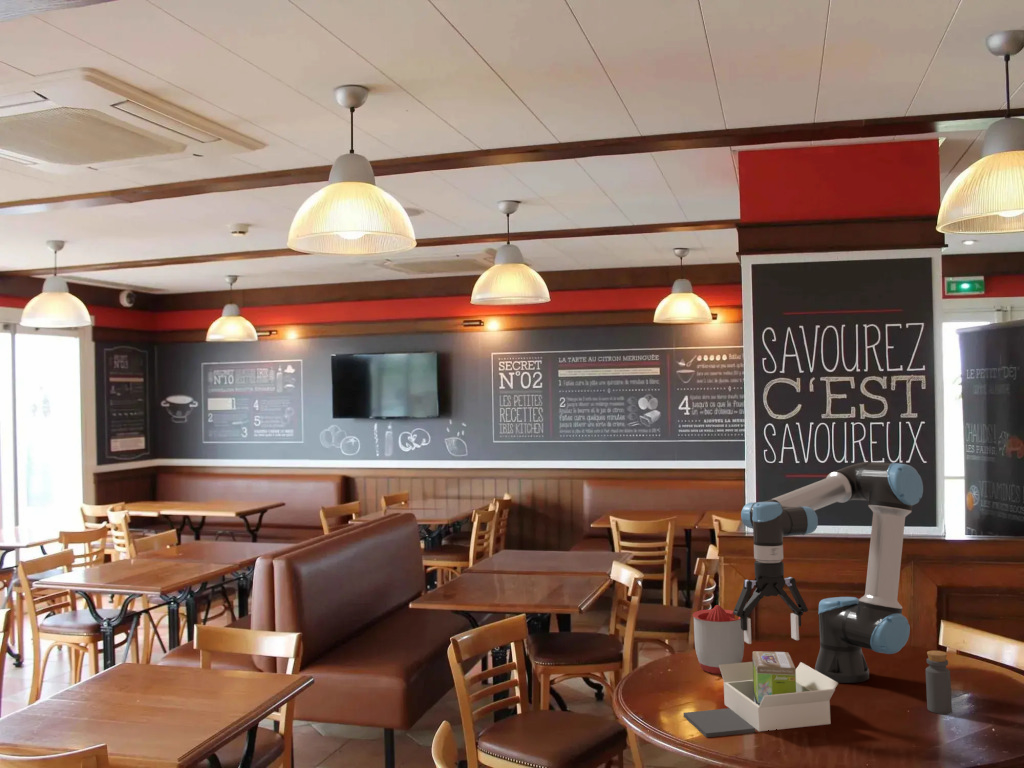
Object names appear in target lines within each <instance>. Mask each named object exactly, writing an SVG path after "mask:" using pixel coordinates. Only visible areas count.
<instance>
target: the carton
mask: <svg viewBox="0 0 1024 768" xmlns="http://www.w3.org/2000/svg"><path fill="white" fill-rule="evenodd" d="M719 668H720V671H721V674H720V675H721V676H722V680H723V697H724V703H723V704H724V706H726V707H727V708H730V709H731V710H732V711H734V712H735V713H736V714H737V715H739V716H740V717H741V718H743V719H744V720H745V721H746V722H748V723H749V724H750V725H751V726H753V727H754V728H755V730H756V731H757V732H766V731H768V730H769V731H775V730H776V729H777V730H785V729H795V728H804V727H815V726H824V725H825V726H826V725H831V703H830V700H831V698H832V696H833V694H834V693H835V691H836V687H837V686H838V685H839V682H836V681H834V680H832V679H831V678H829V677H827V676H825V675H823V674H821V673H820V672H818V671H816V670H815V668H812V667H810V666H809V665H807V664H806V663H804V662H801V661H800V662H799V664H798V666H796V667H795V670H796V692H795V693H785V694H775V695H765V696H764V697H763V699H762V701H761V703H760V705H758V704H756V703H755V702H754V689H753V661H745V662H744V661H743V662H742V663H733V664H722V665H719Z"/></svg>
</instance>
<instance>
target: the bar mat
mask: <svg viewBox="0 0 1024 768" xmlns="http://www.w3.org/2000/svg"><path fill="white" fill-rule="evenodd" d="M683 717H684V718H685V719H686V720H687V721H688V722H689V723H690V724H691V725H692V726H693V727H694V728H695V729H697V730H698V731H699V733H701V734H702V735H703V736H704V737H705V738H714V737H722V736H723V737H724V736H732V735H733V736H734V735H741V734H743V735H744V734H752V733H756V729H755V728H754V727H753V726H752V725H750V724H749V723H748V722H746V721H745V720H744V719H743V718H741V717H740V716H739V715H738V714H736V713H735V712H734V711H732V710H731V709H730V708H729V707H727V708H718V709H706V710H698V711H688V712H687V711H686V712H683Z"/></svg>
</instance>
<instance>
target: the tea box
mask: <svg viewBox="0 0 1024 768" xmlns="http://www.w3.org/2000/svg"><path fill="white" fill-rule="evenodd" d="M752 662H753V689H754V702H755V703H756V704H758V705H760V703H761V701H762V699H763V697H764V696H765V695H775V694H785V693H795V692H796V667H795V666H796V665H795V664H794V662H793V659H792V657H791V655H790V653H789V651H788V652H787V651H786V652H785V651H759V650H758V651H757V650H755V651H752Z"/></svg>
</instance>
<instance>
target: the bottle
mask: <svg viewBox="0 0 1024 768" xmlns="http://www.w3.org/2000/svg"><path fill="white" fill-rule="evenodd" d="M926 654H927V657H928V658H926V664H928V666H927V667H926V668H925V685H926V686H925V687H926V689H925V690H926V704H927V705H926V706H927V707H926V708H927V710H928V711H929V712H931V713H935V714H939V715H949V714H951V713H953V704H952V703H953V702H952V701H953V699H952V685H951V684H952V683H951V682H952V681H951V670H950V669H949V668H947V666H948V665H949V661H948V659H947V656H948V654H947V652H944V651H941V650H928V651H927V652H926Z"/></svg>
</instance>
